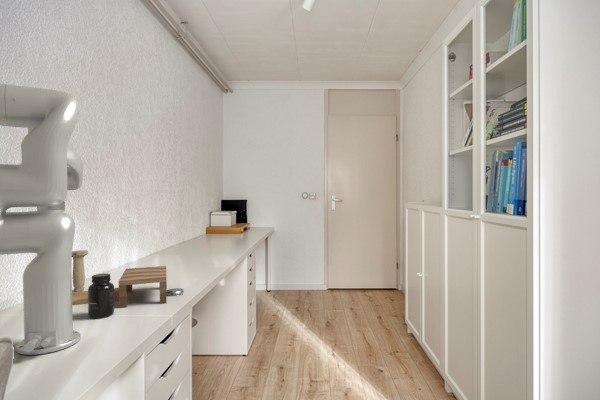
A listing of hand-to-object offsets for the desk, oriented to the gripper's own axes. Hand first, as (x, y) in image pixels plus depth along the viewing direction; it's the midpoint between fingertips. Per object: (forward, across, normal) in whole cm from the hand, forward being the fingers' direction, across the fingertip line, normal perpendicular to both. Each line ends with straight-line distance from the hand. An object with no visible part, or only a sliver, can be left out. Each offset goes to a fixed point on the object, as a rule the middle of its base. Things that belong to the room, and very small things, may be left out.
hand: (52, 260), depth 118 cm
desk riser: (+15, +1, -27) cm, 31 cm away
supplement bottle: (+16, -16, -16) cm, 28 cm away
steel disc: (+15, +1, -37) cm, 40 cm away
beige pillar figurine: (+14, +20, -3) cm, 25 cm away
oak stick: (+15, +1, -9) cm, 18 cm away
